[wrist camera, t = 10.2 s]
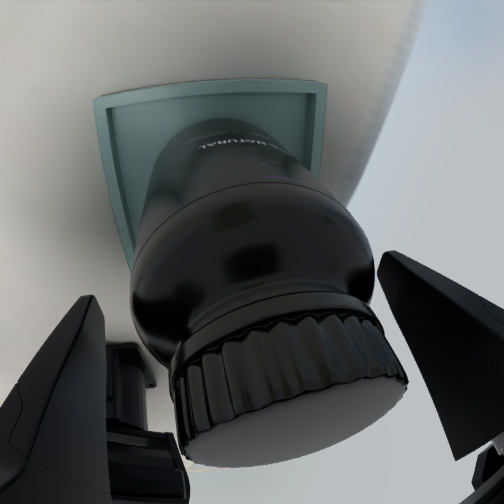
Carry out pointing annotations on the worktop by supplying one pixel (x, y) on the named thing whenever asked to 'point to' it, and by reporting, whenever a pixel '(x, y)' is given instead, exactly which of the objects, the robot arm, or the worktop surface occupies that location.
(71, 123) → the worktop surface
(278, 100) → the tray
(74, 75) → the worktop surface
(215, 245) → the supplement bottle
